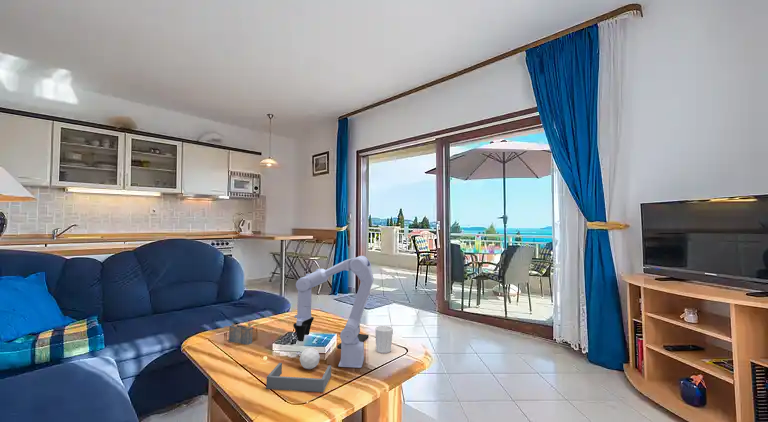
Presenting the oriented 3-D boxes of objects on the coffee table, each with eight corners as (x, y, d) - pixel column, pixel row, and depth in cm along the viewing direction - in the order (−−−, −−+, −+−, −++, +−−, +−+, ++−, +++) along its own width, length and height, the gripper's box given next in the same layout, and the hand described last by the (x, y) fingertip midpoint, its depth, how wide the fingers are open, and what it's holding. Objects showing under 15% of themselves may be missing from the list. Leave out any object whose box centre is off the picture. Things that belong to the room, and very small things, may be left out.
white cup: (372, 352, 151) (372, 329, 151) (378, 346, 158) (379, 324, 158) (388, 355, 148) (388, 332, 148) (394, 348, 155) (395, 327, 155)
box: (331, 376, 126) (331, 365, 126) (323, 392, 114) (323, 380, 114) (279, 373, 127) (279, 362, 127) (266, 388, 115) (266, 376, 115)
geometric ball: (312, 376, 131) (314, 365, 127) (295, 367, 133) (296, 355, 128) (322, 360, 137) (324, 349, 133) (305, 351, 139) (307, 340, 134)
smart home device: (369, 334, 170) (352, 348, 151) (369, 338, 170) (352, 352, 151) (354, 332, 172) (336, 345, 154) (354, 336, 172) (336, 349, 154)
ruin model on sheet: (252, 343, 158) (253, 322, 159) (248, 345, 155) (248, 324, 156) (233, 340, 162) (234, 319, 162) (228, 342, 159) (229, 321, 159)
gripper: (300, 301, 149) (299, 331, 148) (289, 309, 134) (288, 343, 134) (315, 301, 148) (315, 332, 148) (306, 309, 134) (305, 344, 134)
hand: (303, 337), depth 141 cm, fingers open, 7 cm apart
